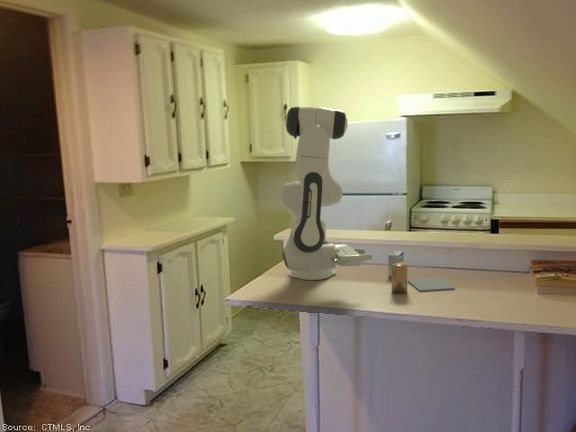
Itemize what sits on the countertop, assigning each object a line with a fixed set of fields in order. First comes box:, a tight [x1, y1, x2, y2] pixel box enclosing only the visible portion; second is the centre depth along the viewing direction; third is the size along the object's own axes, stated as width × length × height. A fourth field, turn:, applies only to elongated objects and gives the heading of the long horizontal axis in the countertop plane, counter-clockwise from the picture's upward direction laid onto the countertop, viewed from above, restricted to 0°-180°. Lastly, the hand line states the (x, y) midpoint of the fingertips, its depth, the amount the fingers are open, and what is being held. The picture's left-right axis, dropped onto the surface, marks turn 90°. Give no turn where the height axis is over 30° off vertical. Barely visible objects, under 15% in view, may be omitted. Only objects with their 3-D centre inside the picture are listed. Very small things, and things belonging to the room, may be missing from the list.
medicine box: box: [387, 250, 405, 277], centre depth 210 cm, size 8×4×9 cm, turn 154°
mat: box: [407, 277, 456, 293], centre depth 194 cm, size 13×13×1 cm
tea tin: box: [391, 262, 408, 295], centre depth 187 cm, size 6×6×10 cm
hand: (367, 253), depth 184 cm, fingers open, 8 cm apart
